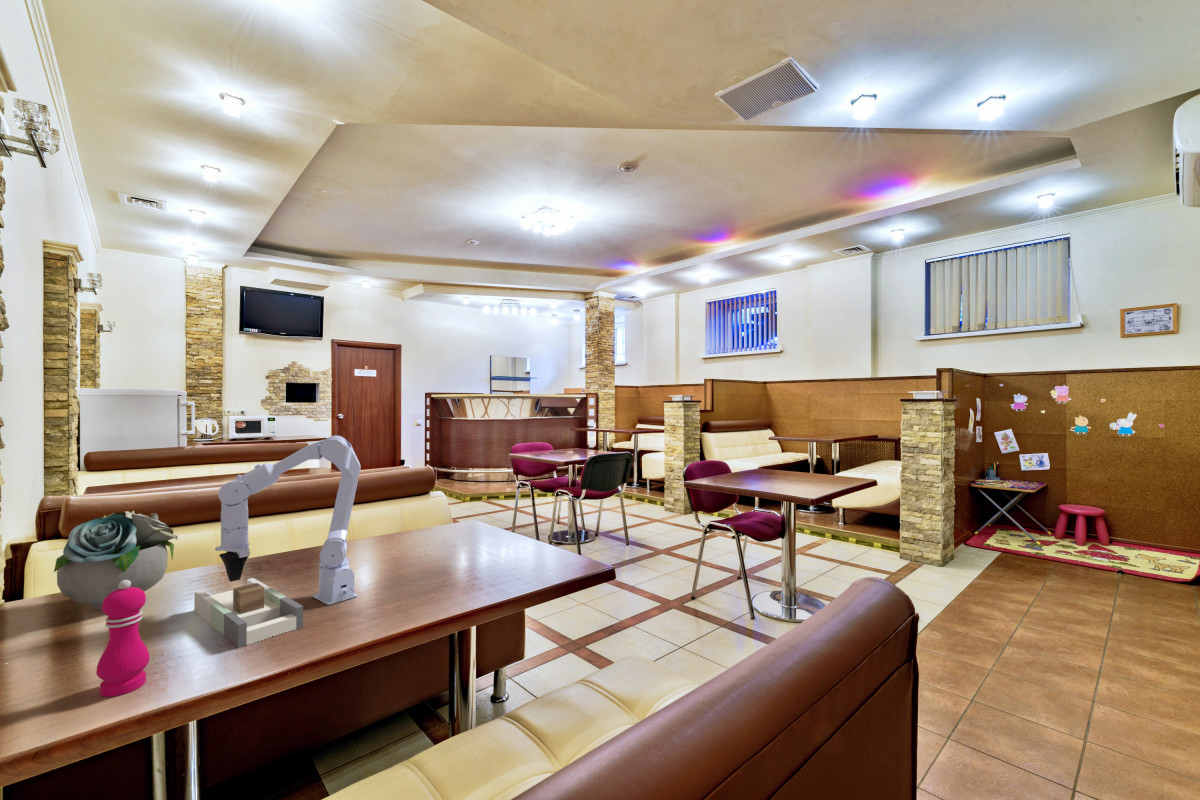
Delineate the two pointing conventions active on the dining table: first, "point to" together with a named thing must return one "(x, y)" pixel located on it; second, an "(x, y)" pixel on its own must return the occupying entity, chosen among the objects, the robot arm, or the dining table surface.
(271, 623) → the tray
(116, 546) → the flower arrangement
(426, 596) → the dining table surface
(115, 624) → the pepper mill
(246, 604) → the walnut block
